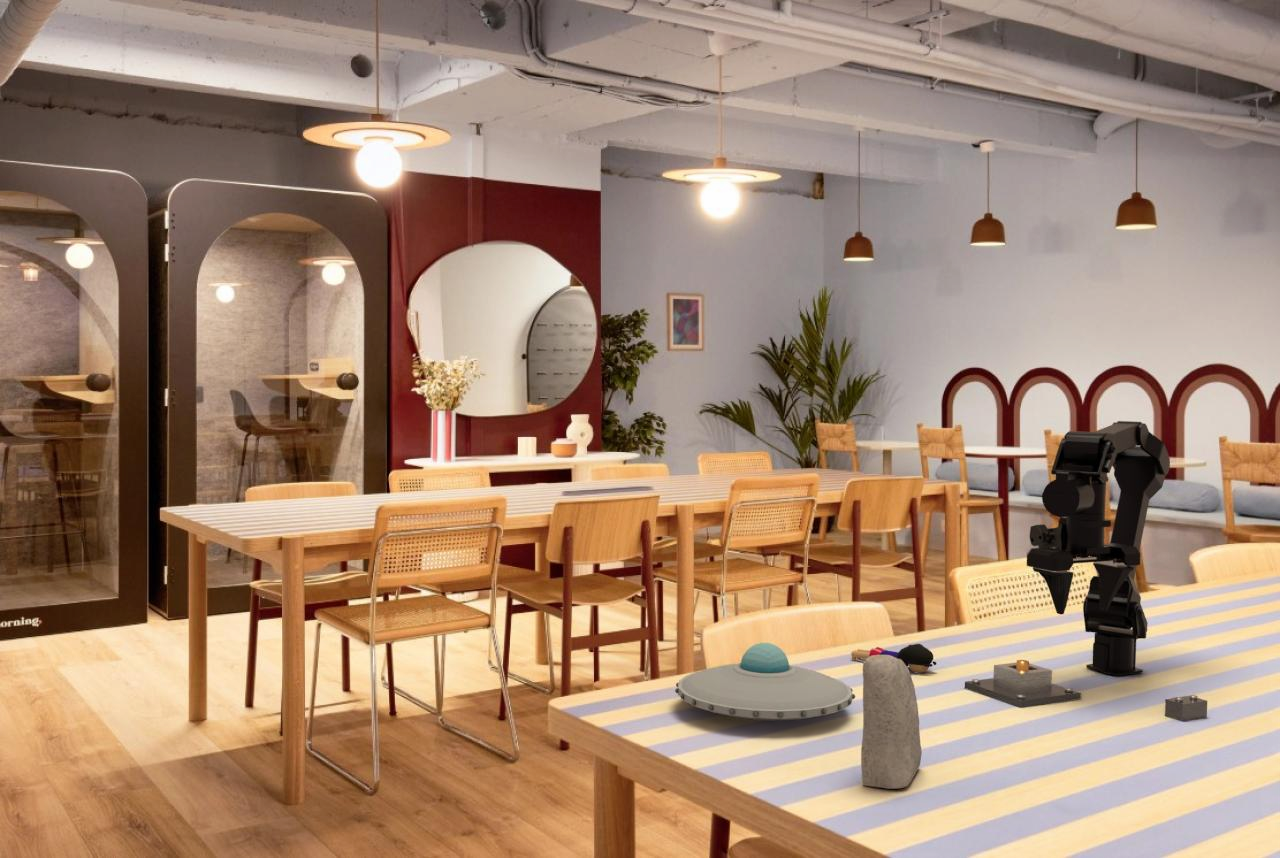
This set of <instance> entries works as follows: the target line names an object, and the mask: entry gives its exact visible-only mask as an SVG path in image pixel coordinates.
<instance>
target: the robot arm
mask: <svg viewBox="0 0 1280 858" xmlns="http://www.w3.org/2000/svg"><path fill="white" fill-rule="evenodd" d="M1112 468H1113V475H1114V478H1115V481H1116V483H1117V485H1118V488H1119V490H1120V493H1119V496H1118V503H1117V507H1116V512H1115V517H1114V522H1113V527H1112V525H1111V524H1112V520H1111V519H1106V493H1107V482H1108V481H1109V477H1108V474H1110V472H1111V470H1112ZM1170 468H1171V458H1170V455H1169V453H1168V449H1167V448H1166V445H1165V443H1164V441H1162V440H1161V439H1160V438H1158V436H1157V437H1156V436H1155V435H1154V434H1153V433H1152V432H1150V431H1149V429H1148V426H1147V424H1146V423H1143V422H1141V421H1127V420H1125V421H1124V420H1118V421H1116V422H1113V423H1112V424H1111V425H1109V426H1106V427H1102V428H1100V429H1098V430H1095V431H1076V430H1075V431H1074V430H1068V431H1067V432H1066V433H1065V435H1064V436H1063V437H1062V438H1061V441H1060V442H1059V446H1058V448H1057V452H1056V455H1055V458H1054V461H1053V465H1052V468H1051V472H1050V473H1051V475H1053V476H1055V479H1054V480H1051V481H1050V482H1049V483H1047V485H1046V486H1045V487H1044V489H1043V492H1042V493H1041V501H1042V505H1043V506H1044V508H1045V510H1046V511H1047V512H1048V513H1050V514H1051V515H1053V516H1055V517H1056V518H1057V517H1058V518H1059V519H1058V522H1057V523H1058V525H1057V527H1053V528H1051V527H1050V528H1048V527H1047V525H1046V524H1043V523H1042V524H1035V525H1031V526H1030V527H1029V528H1030V529H1029V542H1030V545H1031V546H1033V547H1034V548H1030V550H1029V551H1028V552H1026V567H1031V568H1032V570H1033V572H1034V573H1039V575H1040V576H1041V577H1042V578H1043V580H1044V581H1045V583H1046V586H1047V588H1048V591H1049V593H1050V596H1051V600H1052V602H1053V603H1052V604H1053V605H1054V609H1055V612H1056V614H1058V615H1065V611H1066V608H1067V605H1068V601H1069V595H1070V591H1071V587H1072V583H1073V579H1074V572H1073V571H1070V570H1071V568H1072V567H1073V566H1074V564H1086V563H1087V564H1088V563H1092V565H1093V567H1094V569H1095V570H1096V572H1097V573H1098V575H1094V576H1092V577H1091V579H1090V581H1089V587H1088V591H1087V595H1086V596H1085V598H1084V601H1083V606H1082V612H1083V620H1084V622H1083V623H1084V628H1085V630H1084V632H1085V633H1094V642H1093V644H1092V663H1089V664H1086V665H1085V668H1086V669H1090V670H1093V671H1096V672H1100V673H1104V674H1106V675H1111V676H1115V677H1119V676H1126V675H1134V674H1142V673H1144V669H1142V668H1139V667H1136V662H1137V661H1136V660H1137V659H1136V658H1137V640H1140V639H1147V632H1148V621H1147V617H1146V615H1145V612H1144V610H1143V606H1142V604H1141V599H1142V597H1141V594H1140V592H1139V590H1138V588H1137V586H1136V583H1135V575H1136V571H1137V570H1136V569H1137V566H1140V565H1141V552H1140V549H1141V544H1142V539H1143V534H1144V529H1145V526H1146V525H1145V524H1146V518H1147V515H1148V508H1149V503H1150V500H1151V499H1152V498H1153V497H1154V496H1155V495H1156V494H1157V493H1158V492H1159V491H1160V490H1161V489H1162V488H1163V486H1164V482H1165V478H1166V476H1167V475H1168V473H1169V472H1170ZM1111 527H1112V533H1111V536H1110V542H1109V543H1105V530H1106V529H1105V528H1111Z"/></svg>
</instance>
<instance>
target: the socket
mask: <svg viewBox="0 0 1280 858" xmlns="http://www.w3.org/2000/svg"><path fill="white" fill-rule="evenodd" d="M1016 667H1017V661H1016V662H1009V663H999V664H995V665H994V664H993V678H994V681H993V684H994V685H997V686H1000V687H1003V688H1006V689H1009V690H1012V691H1015V692H1017V693H1020V694H1024V693H1031V692H1039V691H1046V690H1051V687H1052V684H1053V683H1052V682H1053V670H1052V669H1050V668H1046V667H1042V666H1039V665H1036V664H1032V663H1030V662H1029V670H1028V671H1020V670H1017V669H1016Z"/></svg>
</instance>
